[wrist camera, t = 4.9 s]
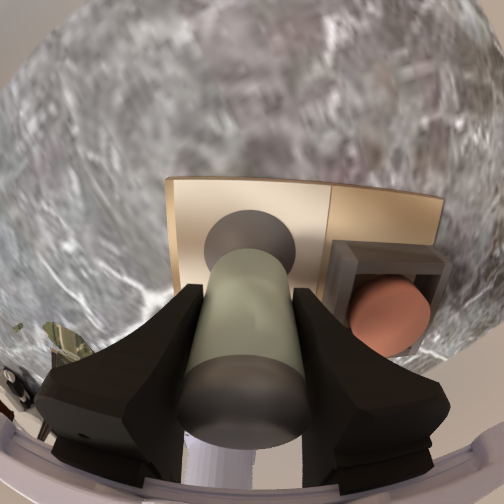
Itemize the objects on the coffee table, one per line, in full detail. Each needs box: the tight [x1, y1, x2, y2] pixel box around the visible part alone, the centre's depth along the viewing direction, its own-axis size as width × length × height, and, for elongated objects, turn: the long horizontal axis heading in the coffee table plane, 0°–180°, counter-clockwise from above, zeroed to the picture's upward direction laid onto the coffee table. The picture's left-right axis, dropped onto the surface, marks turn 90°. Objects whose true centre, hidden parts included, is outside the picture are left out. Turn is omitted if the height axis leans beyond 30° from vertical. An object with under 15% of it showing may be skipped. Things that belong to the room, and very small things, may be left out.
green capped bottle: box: [176, 248, 311, 450], centre depth 10 cm, size 4×4×7 cm
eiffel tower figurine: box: [13, 322, 95, 442], centre depth 17 cm, size 15×10×13 cm
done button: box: [347, 274, 430, 357], centre depth 15 cm, size 5×5×2 cm
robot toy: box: [0, 369, 58, 446], centre depth 25 cm, size 12×4×15 cm
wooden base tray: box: [165, 177, 454, 360], centre depth 16 cm, size 13×16×3 cm
